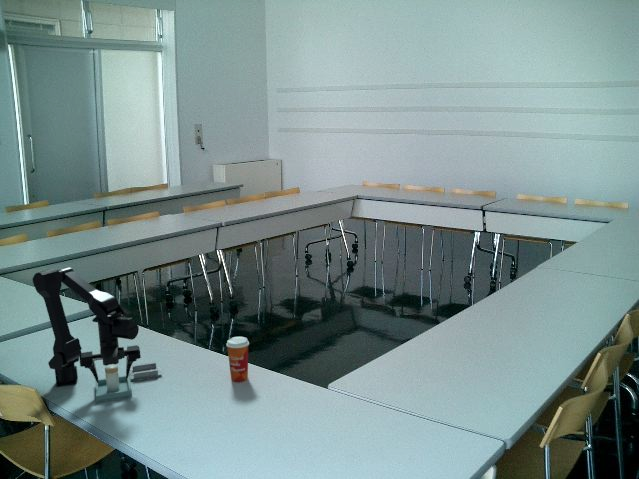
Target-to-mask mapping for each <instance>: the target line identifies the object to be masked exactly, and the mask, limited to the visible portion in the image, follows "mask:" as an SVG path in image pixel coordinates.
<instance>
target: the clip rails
mask: <svg viewBox="0 0 639 479" xmlns="http://www.w3.org/2000/svg"><path fill="white" fill-rule="evenodd" d="M131 368H132V369H130V372H129V376H130V382H135V381H140V380H141V381H142V380H147V379H148V378H149V379H153V378H154V377H155V378H159V377H160V378H161V376H162V377H163V374H162V370H161V367H160V366H159V365H157V362H156V361H153V362H147V363H140V364H132V365H131Z"/></svg>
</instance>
